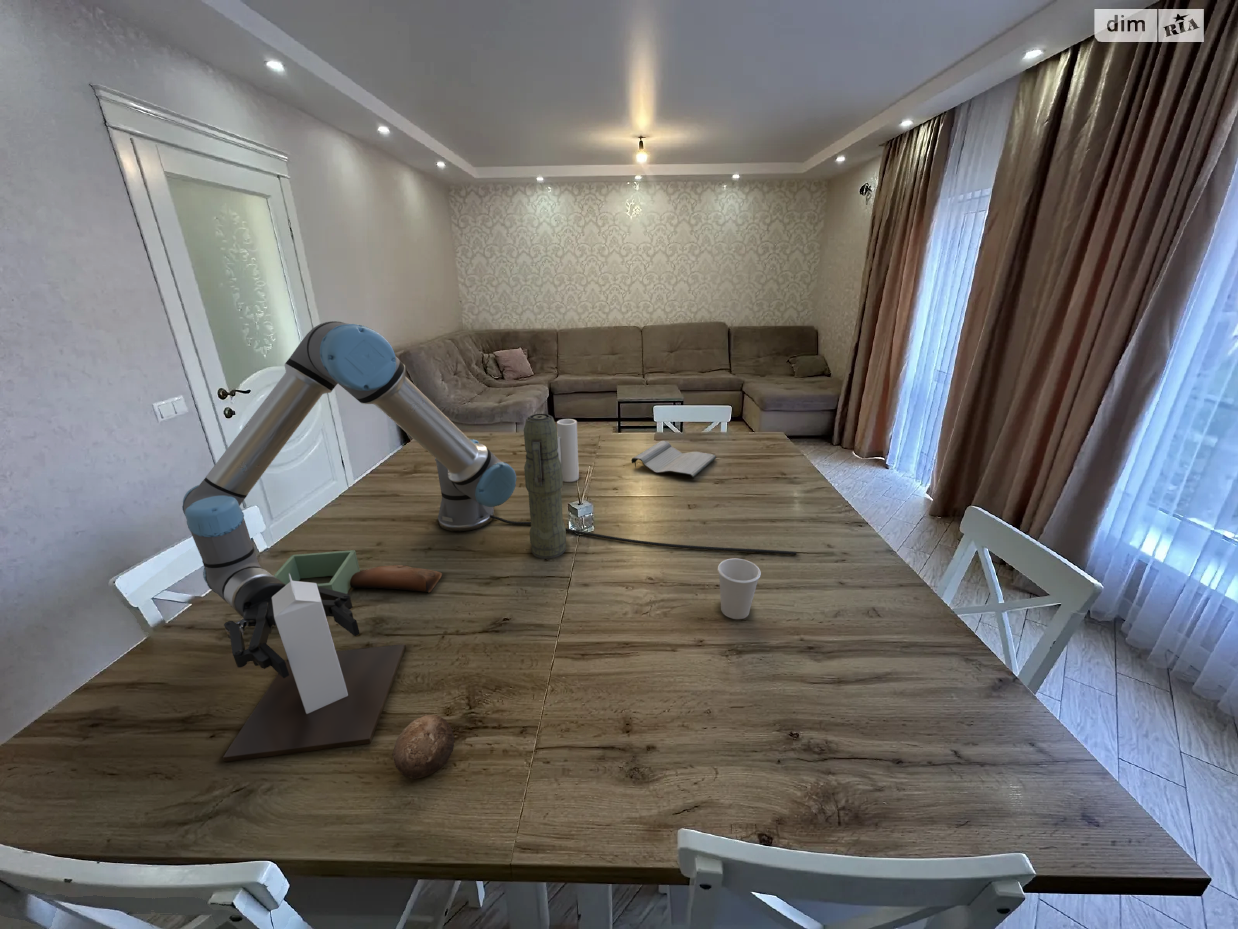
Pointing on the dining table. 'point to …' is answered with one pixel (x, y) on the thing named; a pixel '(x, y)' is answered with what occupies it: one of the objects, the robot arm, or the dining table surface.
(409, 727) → the brown potato
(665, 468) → the mat
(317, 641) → the milk
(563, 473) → the vase
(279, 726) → the board
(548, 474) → the thermos
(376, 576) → the sunglasses case
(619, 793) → the dining table surface
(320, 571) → the basket
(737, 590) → the dixie cup
